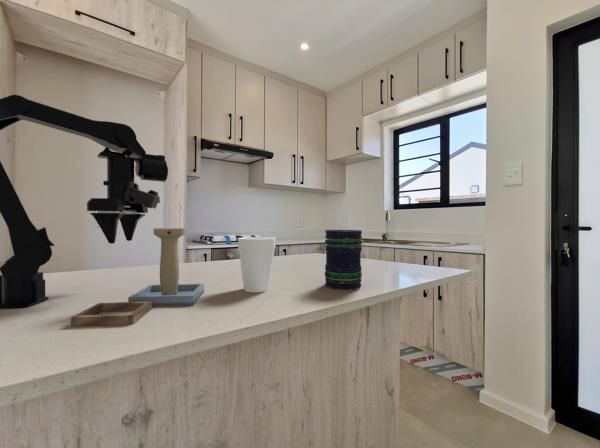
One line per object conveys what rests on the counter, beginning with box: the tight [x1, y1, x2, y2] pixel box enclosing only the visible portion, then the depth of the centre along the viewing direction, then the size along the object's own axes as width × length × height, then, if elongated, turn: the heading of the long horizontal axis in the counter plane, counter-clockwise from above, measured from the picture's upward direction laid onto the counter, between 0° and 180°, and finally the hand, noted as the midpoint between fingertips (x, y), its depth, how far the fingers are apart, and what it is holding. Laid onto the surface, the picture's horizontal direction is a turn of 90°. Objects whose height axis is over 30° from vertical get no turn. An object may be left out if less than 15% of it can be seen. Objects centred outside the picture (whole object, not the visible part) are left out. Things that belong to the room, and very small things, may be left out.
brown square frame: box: [70, 301, 153, 327], centre depth 54 cm, size 10×9×2 cm
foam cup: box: [237, 236, 277, 293], centre depth 76 cm, size 10×9×13 cm
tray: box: [127, 283, 205, 307], centre depth 67 cm, size 13×12×2 cm
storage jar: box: [324, 229, 363, 291], centre depth 81 cm, size 10×10×15 cm
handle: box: [152, 227, 186, 295], centre depth 67 cm, size 5×6×15 cm
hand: (121, 241), depth 74 cm, fingers open, 9 cm apart
